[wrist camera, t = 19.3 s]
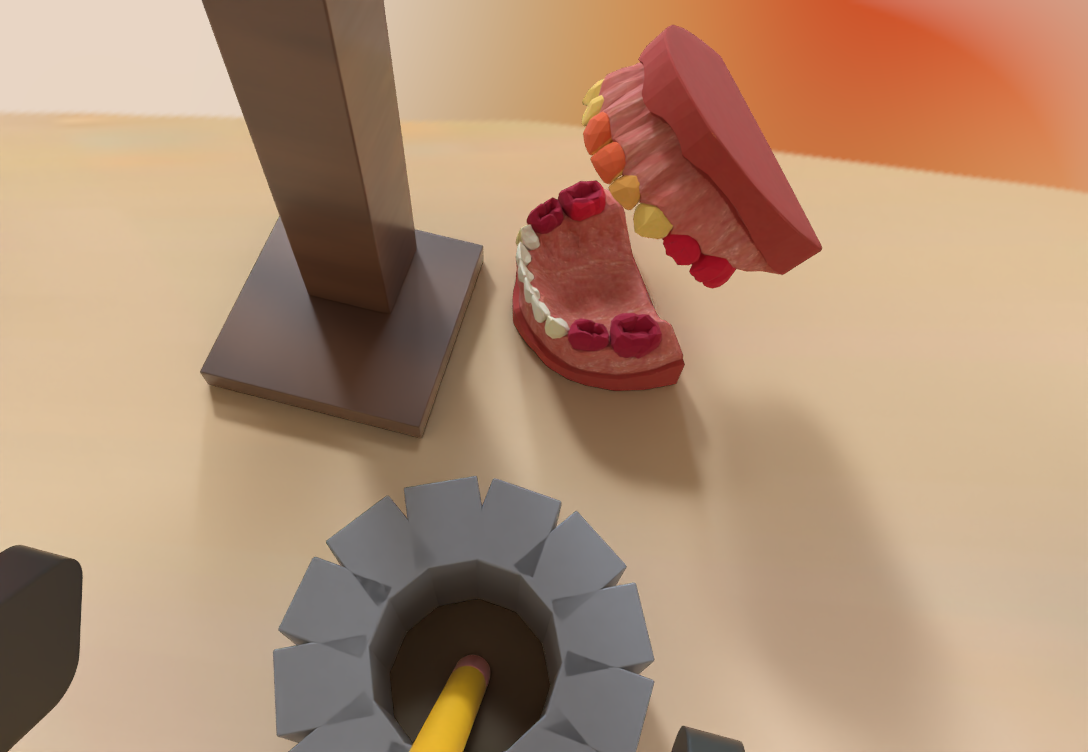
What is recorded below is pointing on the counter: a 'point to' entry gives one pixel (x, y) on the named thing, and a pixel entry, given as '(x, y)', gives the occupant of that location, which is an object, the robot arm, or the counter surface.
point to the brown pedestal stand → (335, 224)
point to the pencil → (455, 708)
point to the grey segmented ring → (455, 576)
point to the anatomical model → (652, 216)
